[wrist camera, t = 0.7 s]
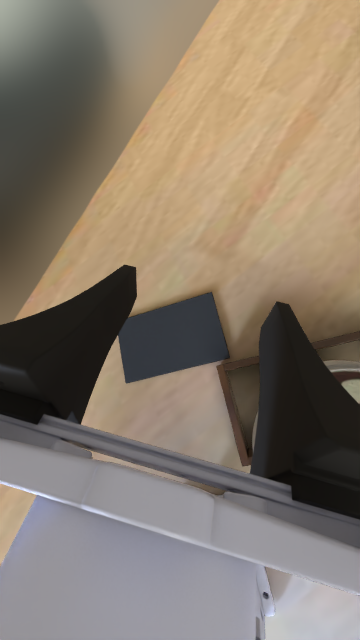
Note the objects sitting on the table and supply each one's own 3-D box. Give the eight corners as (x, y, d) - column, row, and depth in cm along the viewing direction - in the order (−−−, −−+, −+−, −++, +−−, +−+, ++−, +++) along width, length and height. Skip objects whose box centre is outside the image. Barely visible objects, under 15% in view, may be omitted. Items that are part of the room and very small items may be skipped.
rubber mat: (230, 357, 27) (229, 357, 26) (126, 383, 30) (125, 383, 29) (212, 292, 29) (211, 291, 29) (117, 322, 32) (115, 321, 31)
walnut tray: (416, 430, 21) (437, 438, 19) (243, 457, 25) (242, 466, 22) (371, 329, 24) (384, 325, 21) (219, 366, 27) (216, 365, 25)
